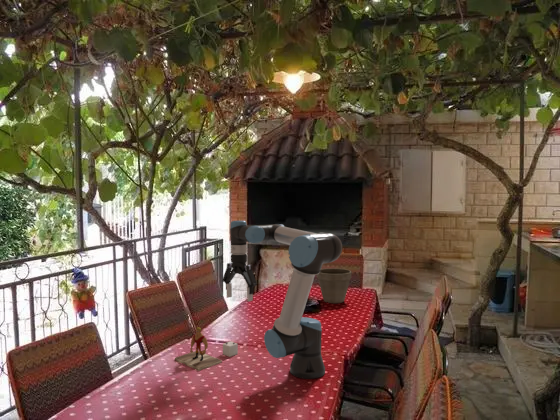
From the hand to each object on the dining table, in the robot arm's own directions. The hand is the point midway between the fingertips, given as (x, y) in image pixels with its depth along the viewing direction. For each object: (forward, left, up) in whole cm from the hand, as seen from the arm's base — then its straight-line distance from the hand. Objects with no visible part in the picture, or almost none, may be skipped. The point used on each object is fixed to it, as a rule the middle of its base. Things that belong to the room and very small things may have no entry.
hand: (239, 299), depth 207 cm
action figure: (+10, +16, -27) cm, 33 cm away
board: (+10, +16, -28) cm, 34 cm away
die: (+6, 0, -28) cm, 28 cm away
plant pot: (+30, -119, -28) cm, 125 cm away
